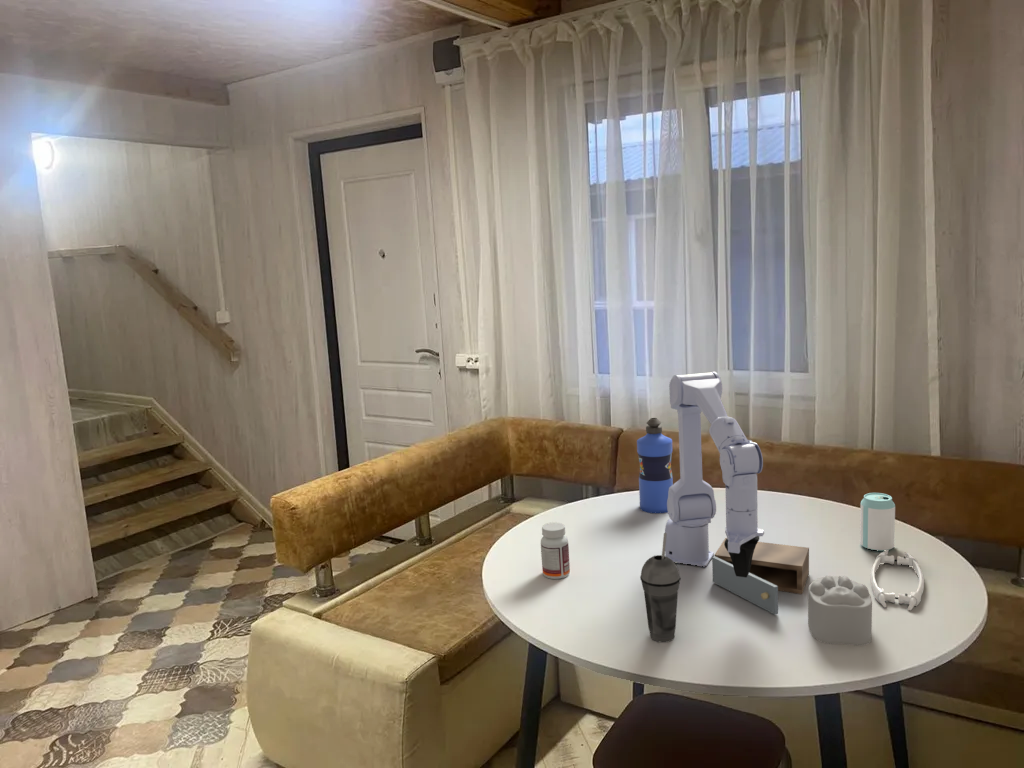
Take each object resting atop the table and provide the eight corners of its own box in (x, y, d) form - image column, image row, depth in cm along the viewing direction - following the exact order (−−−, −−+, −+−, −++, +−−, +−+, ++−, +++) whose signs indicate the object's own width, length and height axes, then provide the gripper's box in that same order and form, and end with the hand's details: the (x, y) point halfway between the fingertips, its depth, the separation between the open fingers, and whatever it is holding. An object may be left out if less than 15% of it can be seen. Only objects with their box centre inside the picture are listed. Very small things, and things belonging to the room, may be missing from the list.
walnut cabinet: (715, 581, 164) (714, 554, 163) (725, 563, 173) (725, 537, 172) (802, 594, 156) (802, 566, 155) (808, 574, 165) (809, 547, 164)
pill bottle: (563, 566, 177) (560, 519, 175) (574, 576, 172) (571, 528, 170) (538, 571, 175) (535, 524, 173) (549, 582, 170) (546, 533, 168)
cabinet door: (709, 583, 163) (708, 558, 162) (715, 581, 164) (715, 556, 163) (771, 616, 148) (770, 588, 147) (778, 613, 148) (777, 586, 147)
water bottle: (639, 513, 207) (635, 423, 203) (639, 502, 216) (636, 415, 212) (674, 513, 206) (672, 422, 201) (673, 501, 215) (670, 414, 210)
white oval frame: (921, 563, 168) (926, 614, 146) (871, 557, 172) (868, 607, 150) (922, 551, 167) (926, 601, 145) (871, 546, 171) (868, 594, 149)
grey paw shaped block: (812, 642, 138) (812, 597, 136) (804, 608, 150) (804, 567, 149) (875, 646, 135) (876, 600, 134) (862, 612, 148) (862, 569, 146)
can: (877, 538, 181) (878, 489, 179) (901, 549, 174) (902, 498, 172) (853, 544, 179) (853, 494, 176) (876, 555, 172) (877, 503, 170)
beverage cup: (638, 628, 147) (634, 528, 143) (675, 624, 148) (672, 524, 144) (648, 647, 140) (644, 543, 136) (687, 643, 140) (684, 539, 137)
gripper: (755, 522, 137) (756, 593, 140) (770, 496, 150) (771, 562, 152) (715, 518, 140) (717, 587, 143) (733, 493, 153) (734, 557, 155)
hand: (742, 574), depth 148 cm, fingers closed
